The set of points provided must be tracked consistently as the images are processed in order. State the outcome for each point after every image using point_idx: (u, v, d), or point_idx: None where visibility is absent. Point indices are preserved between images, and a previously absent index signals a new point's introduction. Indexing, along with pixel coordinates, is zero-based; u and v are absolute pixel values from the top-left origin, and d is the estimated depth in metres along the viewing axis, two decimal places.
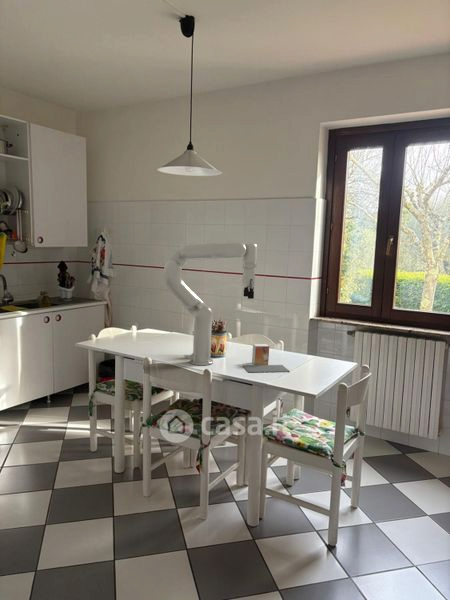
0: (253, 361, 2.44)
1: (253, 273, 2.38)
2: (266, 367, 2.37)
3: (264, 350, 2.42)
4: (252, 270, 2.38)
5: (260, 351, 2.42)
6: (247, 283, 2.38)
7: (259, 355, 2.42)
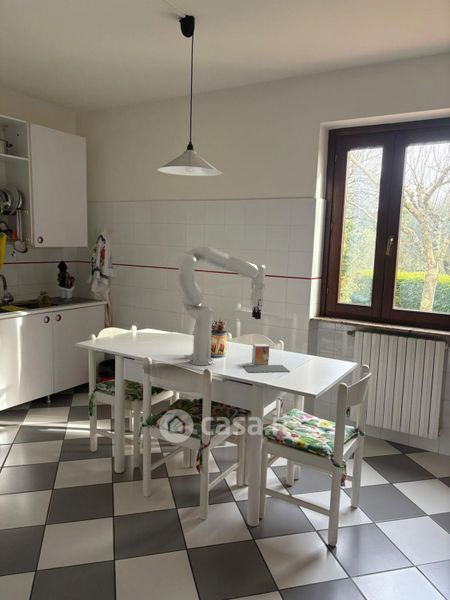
0: (253, 361, 2.44)
1: (261, 293, 2.49)
2: (266, 367, 2.37)
3: (264, 350, 2.42)
4: (261, 290, 2.48)
5: (260, 351, 2.42)
6: (255, 303, 2.48)
7: (259, 355, 2.42)
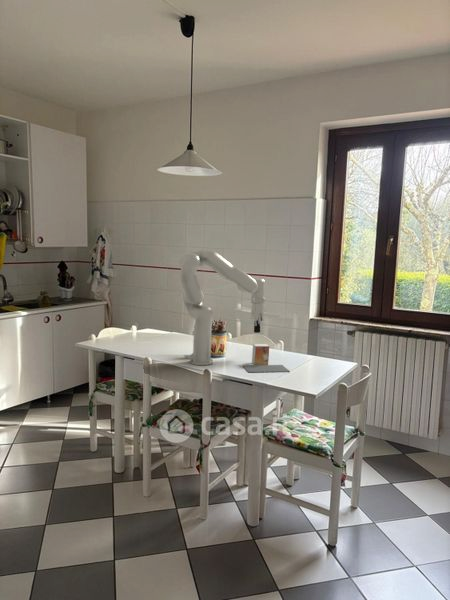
0: (253, 361, 2.44)
1: (262, 308, 2.49)
2: (266, 367, 2.37)
3: (264, 350, 2.42)
4: (261, 305, 2.48)
5: (260, 351, 2.42)
6: (256, 317, 2.48)
7: (259, 355, 2.42)
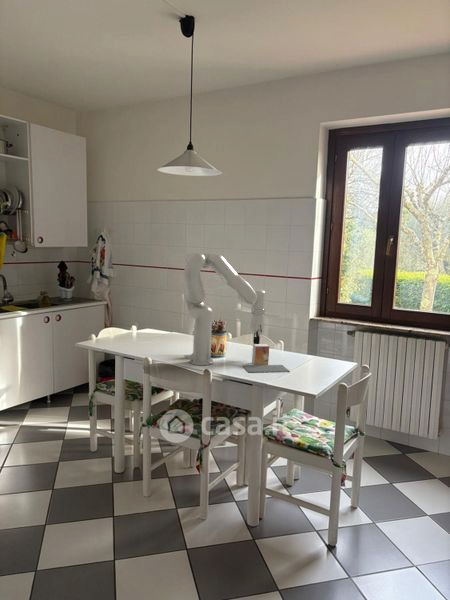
0: (253, 361, 2.44)
1: (261, 319, 2.48)
2: (266, 367, 2.37)
3: (264, 350, 2.42)
4: (261, 316, 2.48)
5: (260, 351, 2.42)
6: (256, 329, 2.47)
7: (259, 355, 2.42)
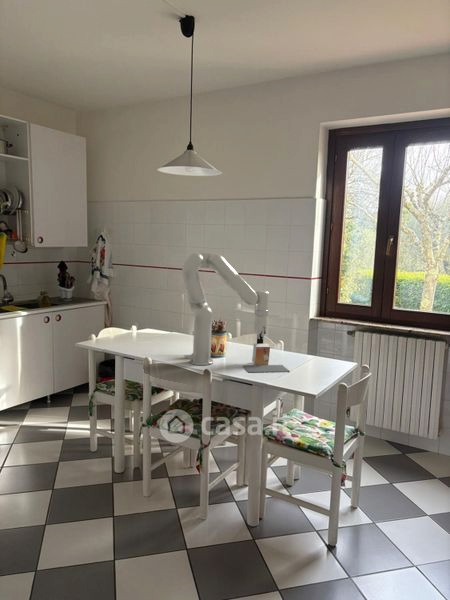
0: (253, 361, 2.44)
1: (265, 321, 2.42)
2: (266, 367, 2.37)
3: (265, 351, 2.41)
4: (264, 318, 2.42)
5: (261, 352, 2.41)
6: (259, 330, 2.41)
7: (259, 355, 2.41)
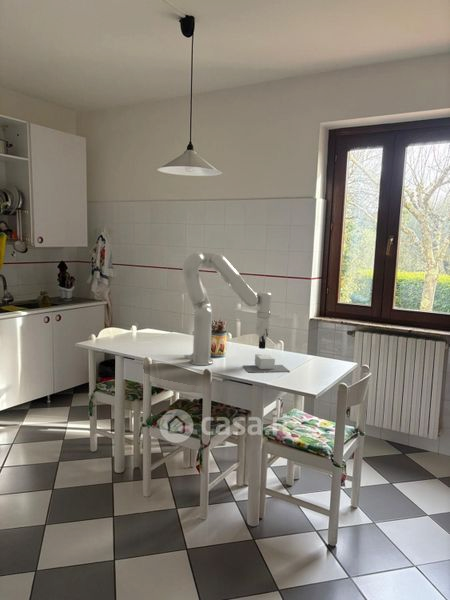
0: (255, 360, 2.41)
1: (267, 323, 2.37)
2: None
3: None
4: (267, 320, 2.37)
5: None
6: (261, 333, 2.36)
7: None
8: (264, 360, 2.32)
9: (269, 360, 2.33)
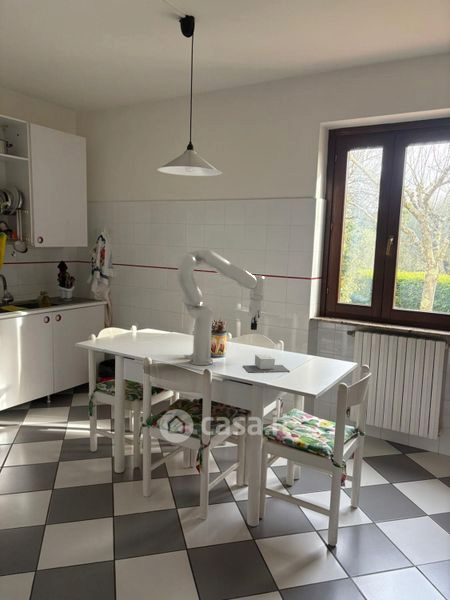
0: (255, 360, 2.41)
1: (260, 305, 2.47)
2: None
3: None
4: (259, 302, 2.47)
5: None
6: (253, 314, 2.46)
7: None
8: (264, 360, 2.32)
9: (269, 360, 2.33)
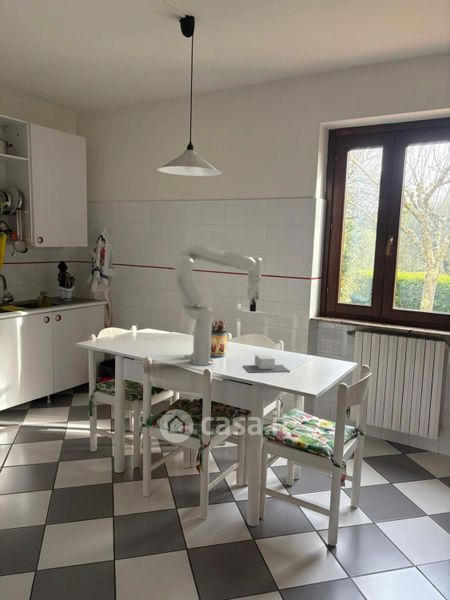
0: (255, 360, 2.41)
1: (258, 286, 2.49)
2: None
3: None
4: (257, 283, 2.49)
5: None
6: (252, 296, 2.48)
7: None
8: (264, 360, 2.32)
9: (269, 360, 2.33)
